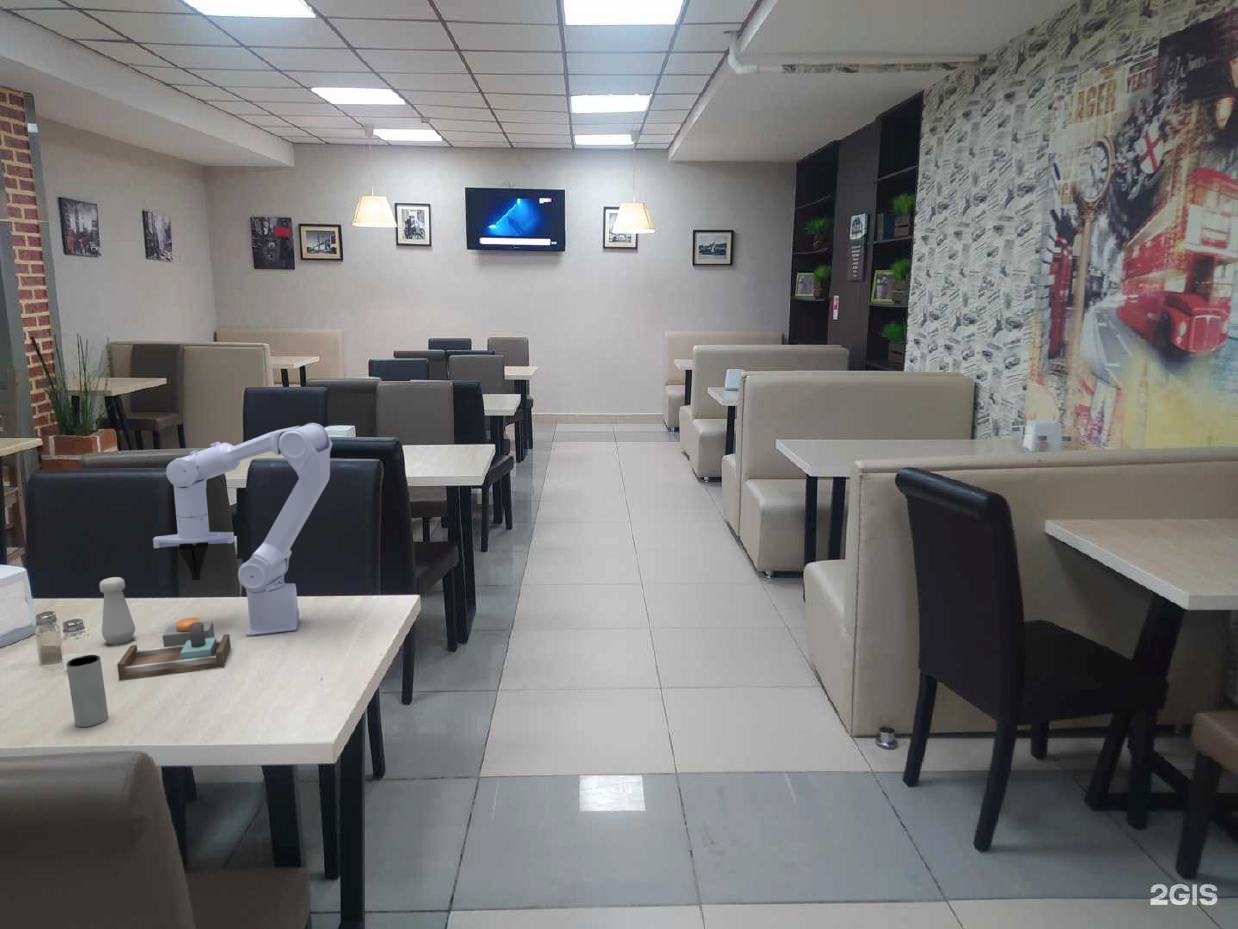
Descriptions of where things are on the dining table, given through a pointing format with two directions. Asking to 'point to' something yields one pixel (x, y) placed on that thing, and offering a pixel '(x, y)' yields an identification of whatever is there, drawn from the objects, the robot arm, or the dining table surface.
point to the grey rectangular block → (184, 635)
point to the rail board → (168, 660)
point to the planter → (87, 690)
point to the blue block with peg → (198, 643)
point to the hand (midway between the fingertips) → (197, 578)
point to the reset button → (185, 623)
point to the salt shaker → (116, 613)
